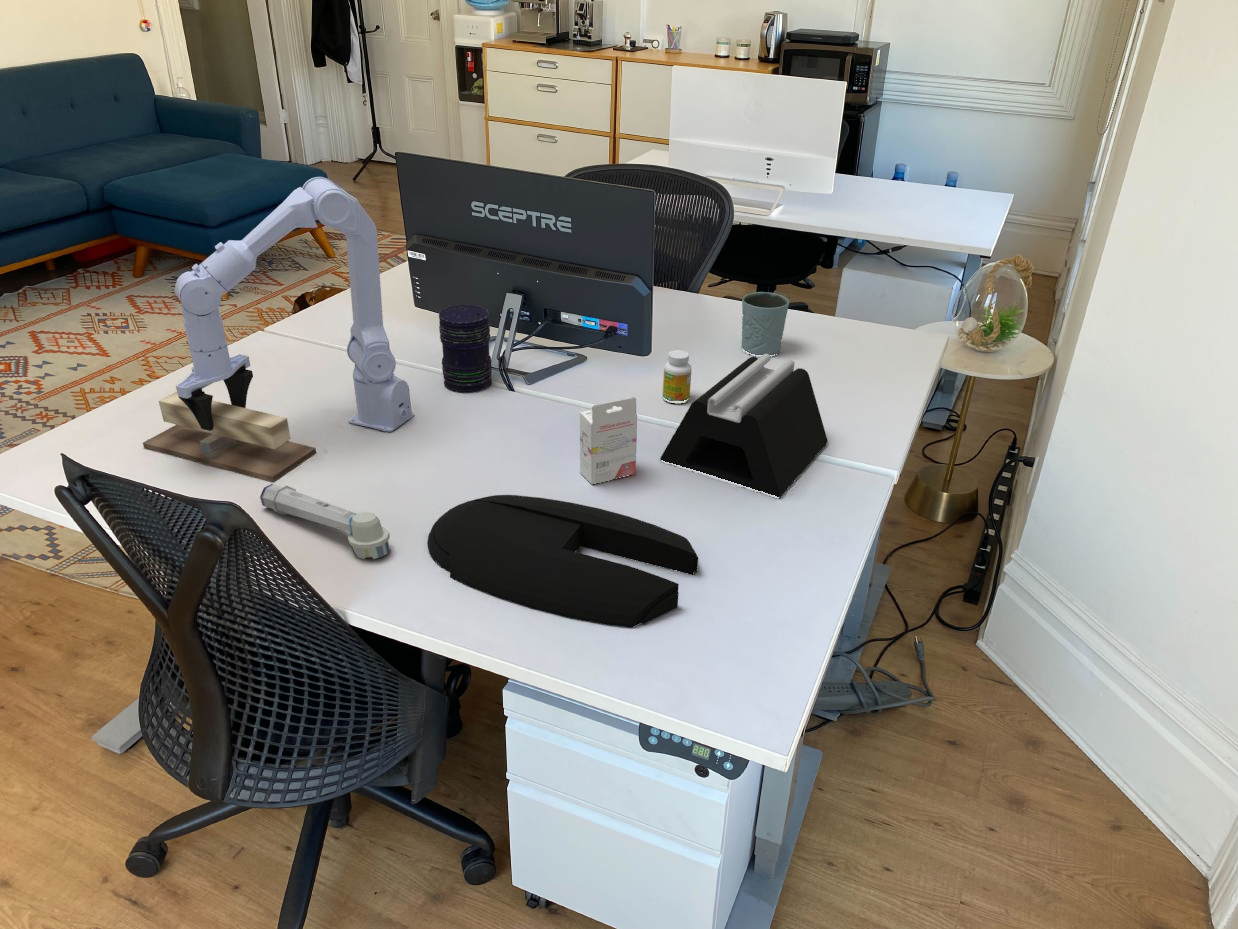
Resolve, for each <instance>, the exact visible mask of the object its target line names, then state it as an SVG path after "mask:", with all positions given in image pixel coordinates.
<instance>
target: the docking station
mask: <svg viewBox="0 0 1238 929" xmlns="http://www.w3.org/2000/svg"><path fill="white" fill-rule="evenodd" d="M427 535H428V536H427V542H426V543H427V550H428V552H429V555H430V556H431V558H432V559H433V560H434V562H435V563H436V564H438V565H439V566H440V567H441V568H443V569H445V570H447V571H448V572H449V577H450V578H451V579H452V580H455V581H457V582H459V583H462V584H463V585H465V586H466V587H467V586H468V587H469V588H473V589H475V590H477V591H480V592H482V593H485V594H487V595H490V596H492V597H495V598H497V599H501V600H503V601H507V602H510V603H513V604H516V605H519V606H521V607H522V606H523V607H524V608H525V607H526V608H529V609H531V610H536V611H539V612H540V611H541V612H544V613H547V614H551V615H552V614H553V615H556V616H561V617H564V618H568V619H572V620H578V621H579V620H580V621H583V622H590V623H594V624H599V625H605V626H610V627H611V626H612V627H621V628H630V629H632V628H635V627H636V626H638V624H639V625H640V623H641V624H643V625H645V624H647V623H649V622H652V621H654V620H655V619H658V618H659V617H662V616H663V615H667V614H668V613H670V612H671V611H674V610H676V609H677V608H678V606H679V596H680V595H679V593H680V592H679V583H677V582H675V581H672V580H669V578H668V579H667V578H665V577H663V576H662V577H661V576H659V575H657V574H654V573H651V572H648V571H645V570H643V569H640V568H637V567H634V566H631V565H627V564H623V563H620V562H615V561H611V560H607V559H604V558H599V557H597V556H592V555H589V554H585V553H584V554H583V553H581V552H577V551H578V550H579V548H580V547H582V548H585V549H589V550H593V551H595V552H596V551H597V552H601V553H605V554H609V555H611V556H616V557H620V558H624V557H625V558H624V559H627V560H628V559H629V560H631V559H632V561H635V560H636V561H637V562H640V563H643V562H644V563H645V564H647V563H648V564H647V565H652V566H655V565H656V566H655V567H659V566H660V567H659V568H663V567H664V568H663V569H667V570H671V569H672V570H671V571H674V570H677V571H676V572H678V571H680V572H679V573H682V572H683V573H682V574H686V573H688V574H687V575H690V576H695V573H696V574H697V573H698V566H699V556H698V554H697V552H696V551H695V549H694V548H693V546H692V544H691V542H690V541H689V540H688V538H687V537H685V536H684V535H683V536H682V535H681V534H678V533H675V532H673V531H671V530H669V529H666V528H663V527H662V526H659V525H655V524H652V523H650V522H646V521H643V520H641V519H638V518H634V517H632V516H629V515H624V514H623V513H622V514H621V513H617V512H615V511H610V510H607V509H603V508H598V507H594V506H589V505H584V504H581V503H580V504H579V503H575V502H570V501H565V500H564V501H563V500H558V499H552V498H547V497H546V498H545V497H538V496H537V497H536V496H527V495H520V494H519V495H516V494H497V495H496V494H494V495H489V496H484V497H481V498H476V499H472V500H469V501H468V500H467V501H465V502H463V503H459V504H457V505H455V506H453V507H451V508H450V509H449V510H447V511H446V512H444V513H443V514H442V515H441V516H440V517H439V518H438V519H436V521H435V522H434V523H433V525H432V527H431V529H430V532H429V534H427ZM636 561H635V562H636ZM644 563H643V564H644Z"/></svg>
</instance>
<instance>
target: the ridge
mask: <svg viewBox="0 0 1238 929" xmlns="http://www.w3.org/2000/svg"><path fill="white" fill-rule="evenodd" d="M240 442H242V441H240V440H236V439H232V438H228V437H224V436H220V435H216V434H212V435H210V436H208V437H207V438H205V439H203V440H201V441H200V444H201V449H202V453H203V457H206V458H209V459H214V458H216V457H217V456H219V455H221V454H222V453H224V452H226V451H227V450H229V449H230V448H232V447H234V446H235V445H237V444H239V443H240Z"/></svg>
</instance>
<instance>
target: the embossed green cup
mask: <svg viewBox="0 0 1238 929" xmlns="http://www.w3.org/2000/svg"><path fill="white" fill-rule="evenodd" d="M741 302H742V307H741V308H742V311H741V312H742V318H741V319H742V321H741V330H742V331H741V349H742V348H743V349H744V350H745V351H747V352H749V353H751V354H755V355H764V354H769V355H774V354H775V355H776V354H778V353H779V354H780V352H781V347H782V340H783V336H784V331H785V327H786V326H785V324H786V319H787V315H788V314H787V313H788V310H789V305H790V300H789V299H788V298H787V297H786V296H784V295H782V294H778V293H774V292H768V291H767V292H765V291H755V292H751V293H747V294H745V295H743V297H742V300H741ZM779 354H778V355H779ZM776 356H777V355H776Z"/></svg>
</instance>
